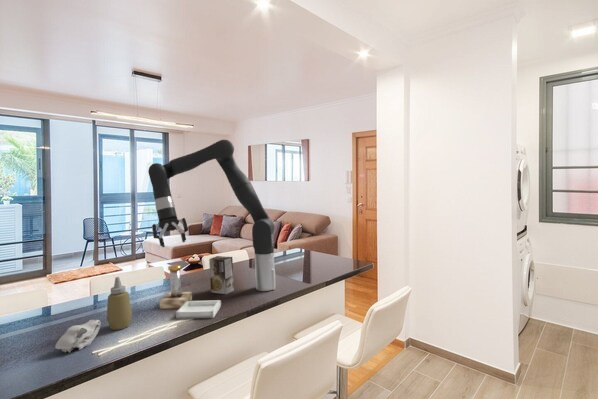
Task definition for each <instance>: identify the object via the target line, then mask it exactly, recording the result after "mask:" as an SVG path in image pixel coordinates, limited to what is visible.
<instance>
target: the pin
mask: <svg viewBox="0 0 598 399" xmlns="http://www.w3.org/2000/svg"><path fill="white" fill-rule="evenodd" d="M181 269H182V265H181V264H173V265H169V266H168V267H167V270H168V271H169V278H170V292H171V298H180V297H181V292H182V284H181Z"/></svg>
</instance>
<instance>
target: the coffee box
mask: <svg viewBox="0 0 598 399" xmlns="http://www.w3.org/2000/svg"><path fill="white" fill-rule="evenodd" d="M208 262H209V263H208V264H209V275H210V276H209V279H210V293H214V294H219V295H220V294H222V295H228V294H230V293H232V292H234V291H235V290H234V289H235V286H234V266H233V262H234V261H233V256H223V255H222V256H221V255H216V256H214V257H210V258H209V259H208Z"/></svg>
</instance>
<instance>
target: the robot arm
mask: <svg viewBox="0 0 598 399" xmlns="http://www.w3.org/2000/svg"><path fill="white" fill-rule="evenodd" d="M234 151H235V146H234V144H233V142H232V141H230V140H228V139H220V140H218V141H216V142H213V143H212V144H210V145H209V146H206V147H203V148H202V149H198V150H197V151H194V152H192V153H189V154H185V155H182V156H179V157H177V158H174V159H171V160H169V162H168V163H166V164H161V163H157V162H156V163H153V164H150V166H149V167H148V171H147V172H148V176H149V179H150V183H151V186H152V194H153V198H154V204H155V210H156V214H157V219H158V223H153V224H152V225H151V230H152V236H153V239H158V241H159V245H160V247H162V248H165V247H166V246H165V242H164V238H163V237H164V234H165V232H166V233H168V232H174V231H177V232H179V233H180V238H181V241H182V243H185V242H186V241H187V237H186V232H188V231H189V227H188V223H187V220H186V218H185V217H183V218H181V219H179V218H178V215H177V212H176V207H175V203H174V200H173V197H172V192H171V189H170V186H169V183H168V180H169V179H171V178H173V177H175V176H177V175H180V174H183V173H185V172H189V171H191V170H193V169H195V168H198V167H199V166H201V165H203V164H205V163H207V162H210V161H212V160H215V161H216V162H217V163H218V165H219V166H220V168H221V169H222V170H223V172H224V174H225V177H226V178H227V181H228V183H229V186H230V187H231V189H232V192H233V193H234V195H235V197H236V199H237V201H238V202H239V203H240V204H241V206H242V207H244V209H245V210H246V211H247V212H248V214H249V215H250V216H251V218H252V220H253V225H252V227H251V230H252V231H251V235H252V236H251V237H252V238H251V239H252V247H253V250H254V251H253V252H254V275H255V276H254V277H255V290H257V291H260V292H267V291H268V292H269V291H274V290H275V289H276V287H277V286H276V266H275V248H274V245H273V238H272V237H273V236H272V235H273V234H274V232H275V224H274V222H273V220H272V219H271V218H270V216H269V215H268V213H267V211H266V210H265V208H264V207H263V205H262V202H261V200H260V198H259V196H258V194H257V191H256V190H255V188H254V186H253V184H252V182H251V180H250V179H249V177H247V175H246V174H245V173H244V172H243V171H242V170H241V168H239V166H238V164H237V162H236V160H235V158H234ZM179 223H180V224H181V225H182V227H183V229H182V227H180V225H179ZM159 228H160V229H161V231H160V233H159V235H158V231H157V229H159Z"/></svg>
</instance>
